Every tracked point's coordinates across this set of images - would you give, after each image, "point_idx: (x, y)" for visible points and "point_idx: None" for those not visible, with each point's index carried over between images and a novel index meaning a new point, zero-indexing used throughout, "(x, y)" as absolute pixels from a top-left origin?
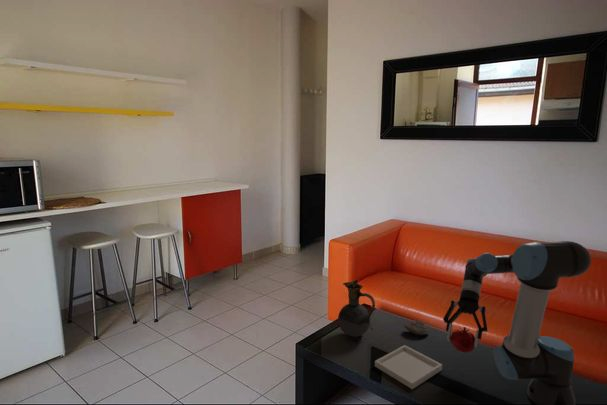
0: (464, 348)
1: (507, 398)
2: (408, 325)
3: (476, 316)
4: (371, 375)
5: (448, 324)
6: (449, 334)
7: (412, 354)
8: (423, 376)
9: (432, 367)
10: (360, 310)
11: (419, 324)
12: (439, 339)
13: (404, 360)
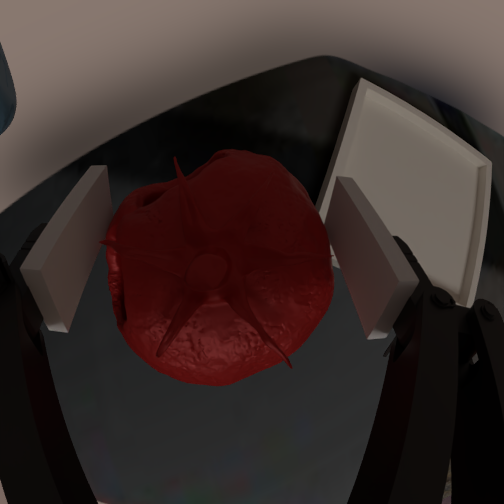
0: (191, 176)
1: (44, 185)
2: None
3: (6, 479)
4: (463, 121)
5: (418, 286)
6: (349, 199)
7: None
8: (347, 125)
9: None
10: None
11: (449, 475)
12: (353, 476)
13: (438, 228)
